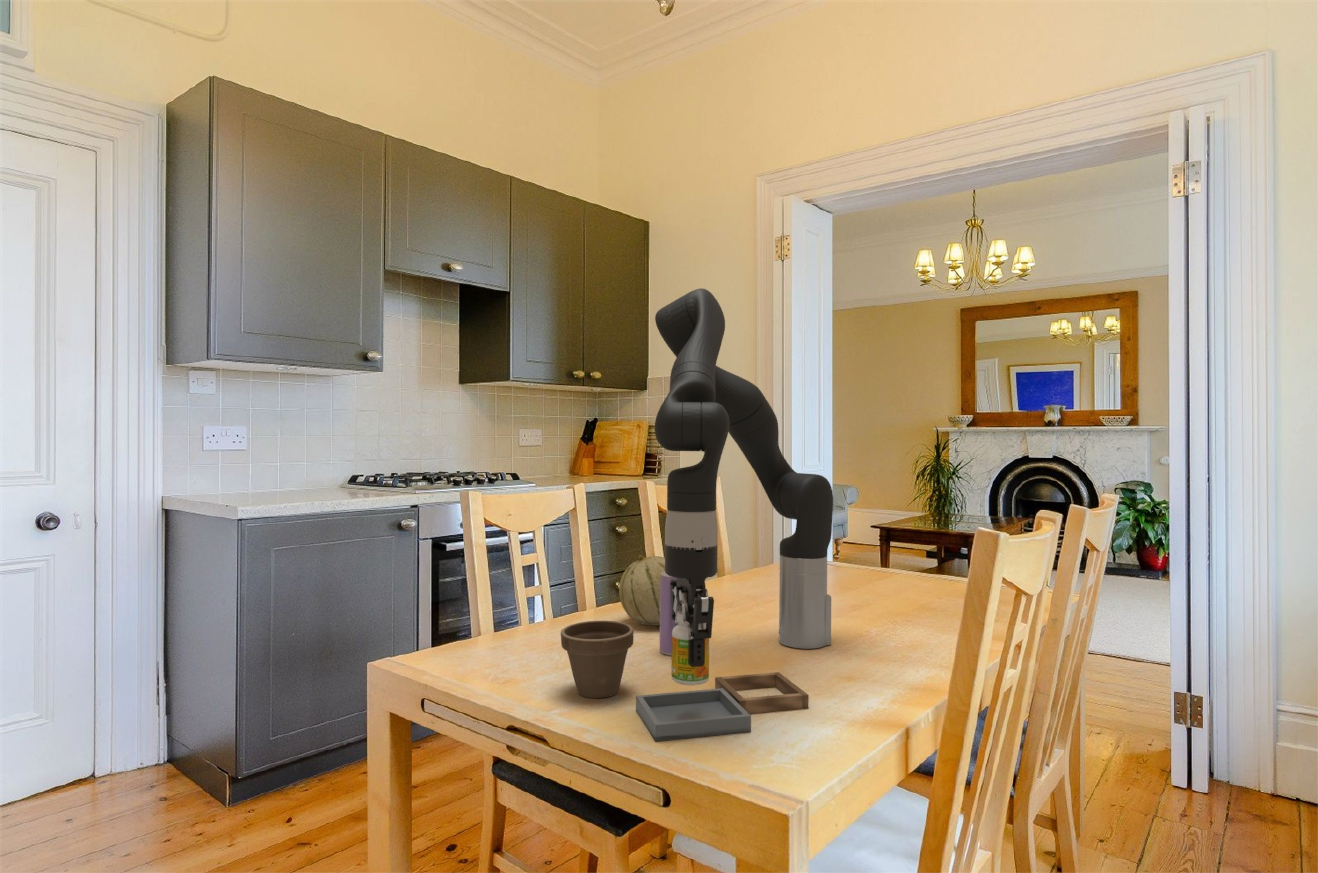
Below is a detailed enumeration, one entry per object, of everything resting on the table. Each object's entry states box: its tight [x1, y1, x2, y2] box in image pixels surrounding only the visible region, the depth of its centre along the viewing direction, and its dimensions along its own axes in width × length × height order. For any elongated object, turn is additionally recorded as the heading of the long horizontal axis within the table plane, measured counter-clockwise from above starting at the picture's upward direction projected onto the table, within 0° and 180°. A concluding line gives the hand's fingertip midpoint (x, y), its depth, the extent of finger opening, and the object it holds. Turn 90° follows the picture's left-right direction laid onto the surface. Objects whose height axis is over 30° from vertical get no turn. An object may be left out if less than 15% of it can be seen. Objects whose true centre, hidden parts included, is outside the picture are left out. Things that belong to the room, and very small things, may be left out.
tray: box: [635, 688, 752, 742], centre depth 109 cm, size 14×12×2 cm
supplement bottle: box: [671, 610, 710, 686], centre depth 109 cm, size 5×5×10 cm
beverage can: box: [659, 571, 677, 657], centre depth 142 cm, size 6×6×15 cm
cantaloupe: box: [618, 554, 665, 626], centre depth 163 cm, size 15×15×15 cm
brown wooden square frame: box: [714, 671, 810, 715], centre depth 118 cm, size 11×11×2 cm
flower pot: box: [560, 620, 635, 699], centre depth 120 cm, size 12×11×10 cm
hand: (690, 659), depth 109 cm, fingers closed on supplement bottle, 5 cm apart
